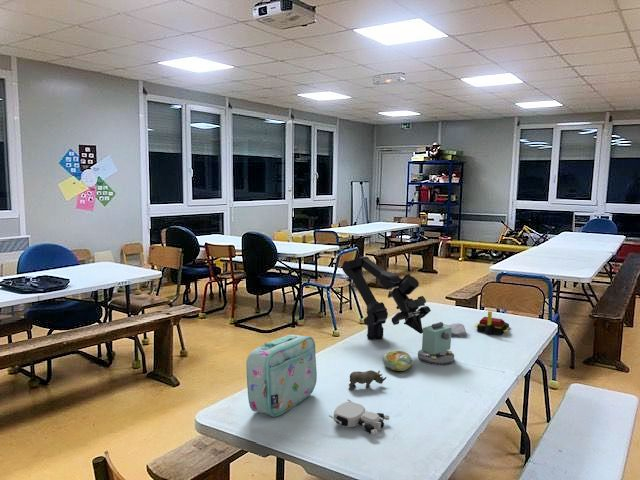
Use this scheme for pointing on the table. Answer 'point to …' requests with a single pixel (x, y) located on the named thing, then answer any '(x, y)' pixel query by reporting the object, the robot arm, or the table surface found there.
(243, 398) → the table surface
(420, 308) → the robot arm
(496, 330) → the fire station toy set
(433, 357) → the dark grey disc
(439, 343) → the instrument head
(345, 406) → the robot toy
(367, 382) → the rhino figurine
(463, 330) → the stone block
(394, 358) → the cell model
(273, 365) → the lunch box
